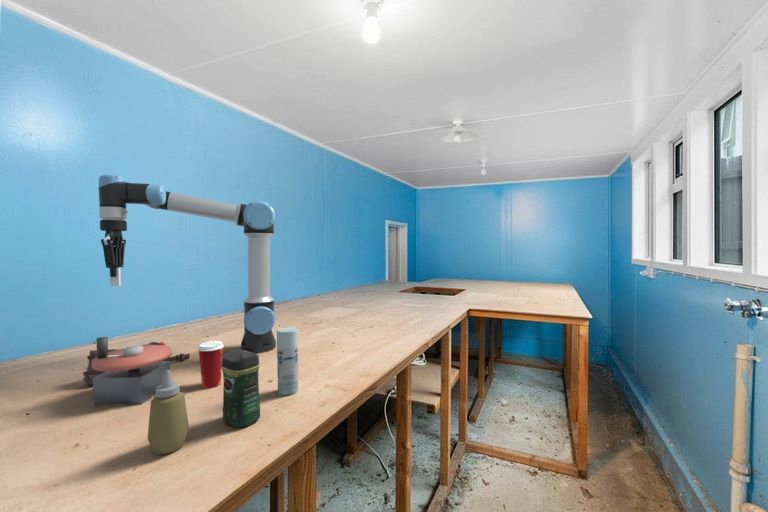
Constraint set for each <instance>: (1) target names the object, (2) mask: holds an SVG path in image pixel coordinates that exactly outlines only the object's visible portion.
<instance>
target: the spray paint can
mask: <svg viewBox="0 0 768 512" xmlns="http://www.w3.org/2000/svg"><path fill="white" fill-rule="evenodd" d="M276 359H277V361H276V367H277V371H276V372H277V394H278V395H280V396H283V397H287V396H292V395H295V394H297V393H298V391H299V329H298V327H295V326H293V327H292V326H287V327H285V326H284V327H280V328H278V329H276Z"/></svg>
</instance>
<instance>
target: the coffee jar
mask: <svg viewBox="0 0 768 512" xmlns="http://www.w3.org/2000/svg"><path fill="white" fill-rule="evenodd" d="M259 371H260V356H259V354H258V353H252V352H249V351H245V350H241V349H240V348H237V349H236V348H235V349H233V350H228V351H226V352H225V353H224V354H223V355H222V378H223V394H222V395H223V397H222V399H223V400H222V419H223V421H224V422H225V423H226V424H227V425H229V426H232V427H234V428H243V427H247V426H250V425H253V424H254V423H255V422H257V421H258V420H259V419H260V418H261V402H260V391H259V390H260V389H259Z"/></svg>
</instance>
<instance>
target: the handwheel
mask: <svg viewBox="0 0 768 512" xmlns="http://www.w3.org/2000/svg"><path fill="white" fill-rule="evenodd" d="M95 340H96V350H97V357H96V358H94V359H93V360H92V362H91V365H92V369H93V370H96V371H105V372H110V371H123V370H133V369H137V368H141V367H145V366H149V365H152V364H155V363H158V362H161V361H163V360H165V359H167V358H169V357H172V348H171V347H170V346H168V345H165V346H164V345H145V344H143V345H144V346H140V345H132V346H128V347H124V348H120V349H118V350H115V351H111V352H108V350H109V346H108V345H109V344H108V341H109V340H108V336H100V337H96V339H95Z"/></svg>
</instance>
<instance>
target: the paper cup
mask: <svg viewBox="0 0 768 512" xmlns="http://www.w3.org/2000/svg"><path fill="white" fill-rule="evenodd" d="M224 347H225V346H224V344H223V342H222V341H220V340H210V341H209V340H208V341H205V342H202V343H200V344H199V346H198V348H197V351H198V356H199V367H200V376H201V377H200V378H201V387H202V388H203V389H207V388H208V389H213V387H214V388H217V387H219V386H220V385H221V384H222V374H223V371H222V359H223V349H224Z"/></svg>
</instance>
